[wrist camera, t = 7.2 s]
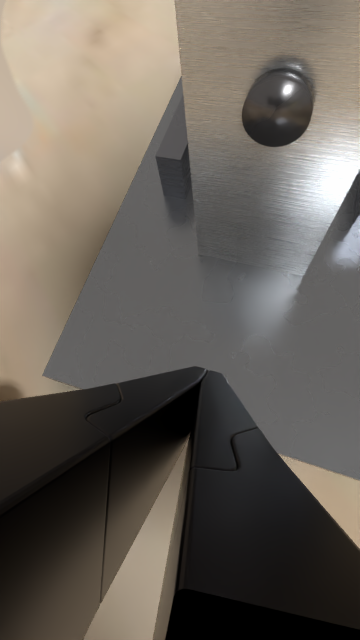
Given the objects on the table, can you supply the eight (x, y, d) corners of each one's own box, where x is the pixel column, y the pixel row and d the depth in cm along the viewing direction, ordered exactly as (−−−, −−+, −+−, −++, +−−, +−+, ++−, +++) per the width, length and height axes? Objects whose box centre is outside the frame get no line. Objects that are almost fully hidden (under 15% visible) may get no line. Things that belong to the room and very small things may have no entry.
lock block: (301, 284, 17) (468, -24, 6) (196, 261, 18) (163, -28, 7) (340, 94, 22) (470, -268, 11) (255, 86, 23) (292, -245, 12)
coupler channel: (401, 494, 14) (470, 514, 10) (51, 379, 17) (7, 362, 14) (430, 64, 23) (470, -7, 20) (200, 49, 27) (198, -13, 23)
